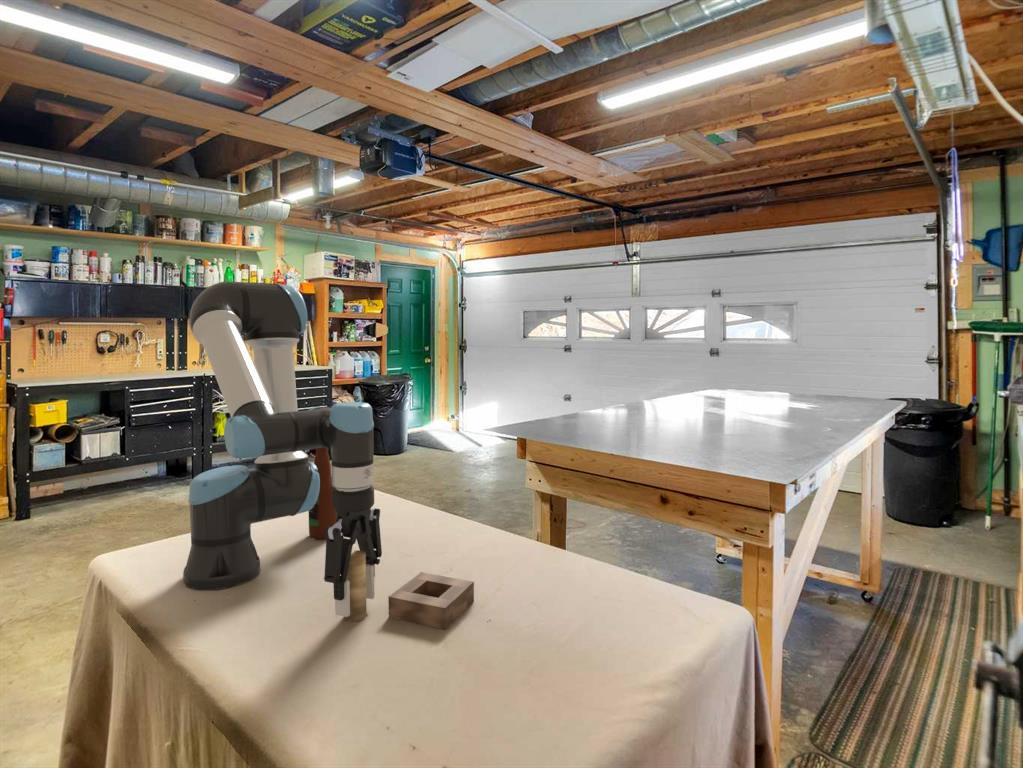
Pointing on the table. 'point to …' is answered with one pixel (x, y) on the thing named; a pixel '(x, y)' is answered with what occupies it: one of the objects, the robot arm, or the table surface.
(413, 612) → the walnut socket
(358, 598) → the oak peg
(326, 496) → the bottle
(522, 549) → the table surface
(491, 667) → the table surface
